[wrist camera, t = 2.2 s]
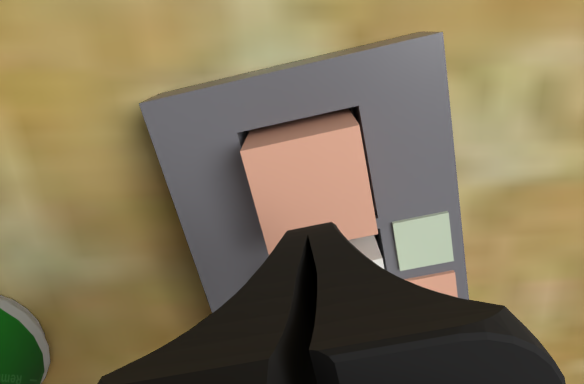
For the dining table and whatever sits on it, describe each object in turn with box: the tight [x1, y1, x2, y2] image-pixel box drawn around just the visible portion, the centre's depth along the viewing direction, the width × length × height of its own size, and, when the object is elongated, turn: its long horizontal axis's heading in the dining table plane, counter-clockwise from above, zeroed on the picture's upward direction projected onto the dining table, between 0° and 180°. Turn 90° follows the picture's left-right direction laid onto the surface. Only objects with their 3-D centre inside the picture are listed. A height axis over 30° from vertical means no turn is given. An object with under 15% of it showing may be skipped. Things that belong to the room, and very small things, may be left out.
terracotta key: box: [240, 108, 378, 255], centre depth 18 cm, size 4×4×4 cm
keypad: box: [139, 32, 469, 313], centre depth 21 cm, size 20×12×3 cm, turn 13°
